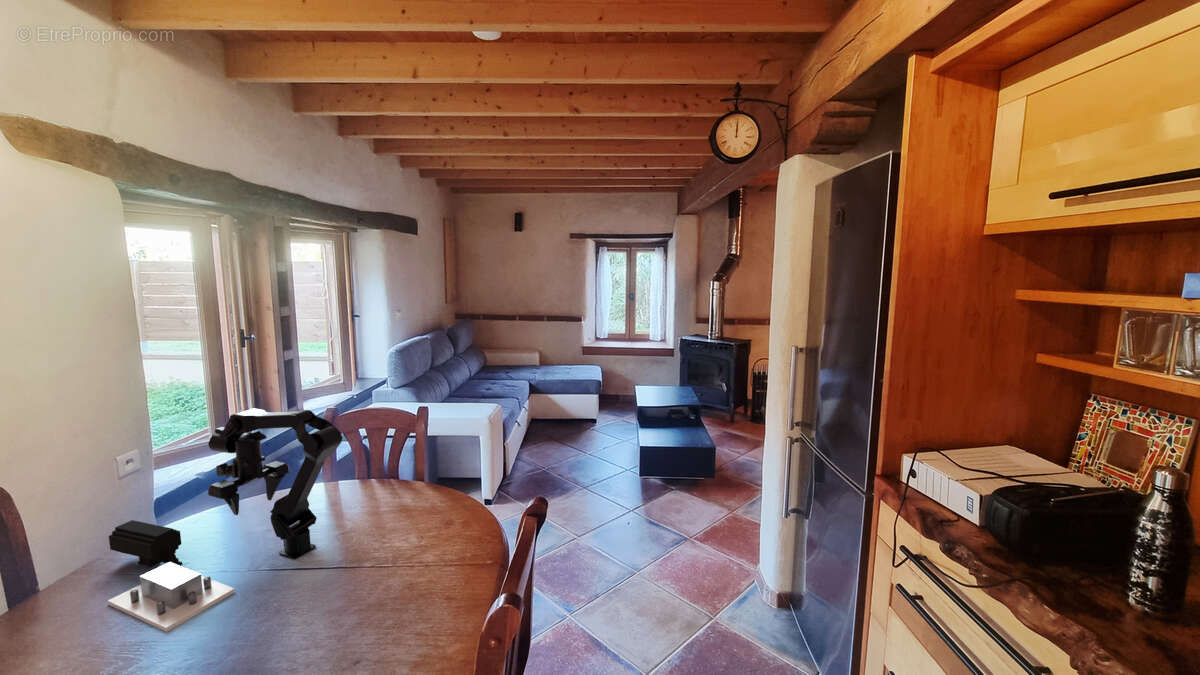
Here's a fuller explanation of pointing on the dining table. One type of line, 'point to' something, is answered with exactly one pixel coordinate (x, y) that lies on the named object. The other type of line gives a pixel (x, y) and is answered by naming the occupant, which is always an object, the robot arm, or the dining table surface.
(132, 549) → the security camera
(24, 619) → the dining table surface
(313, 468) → the robot arm
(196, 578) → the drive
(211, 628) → the dining table surface
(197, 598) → the white peg board
